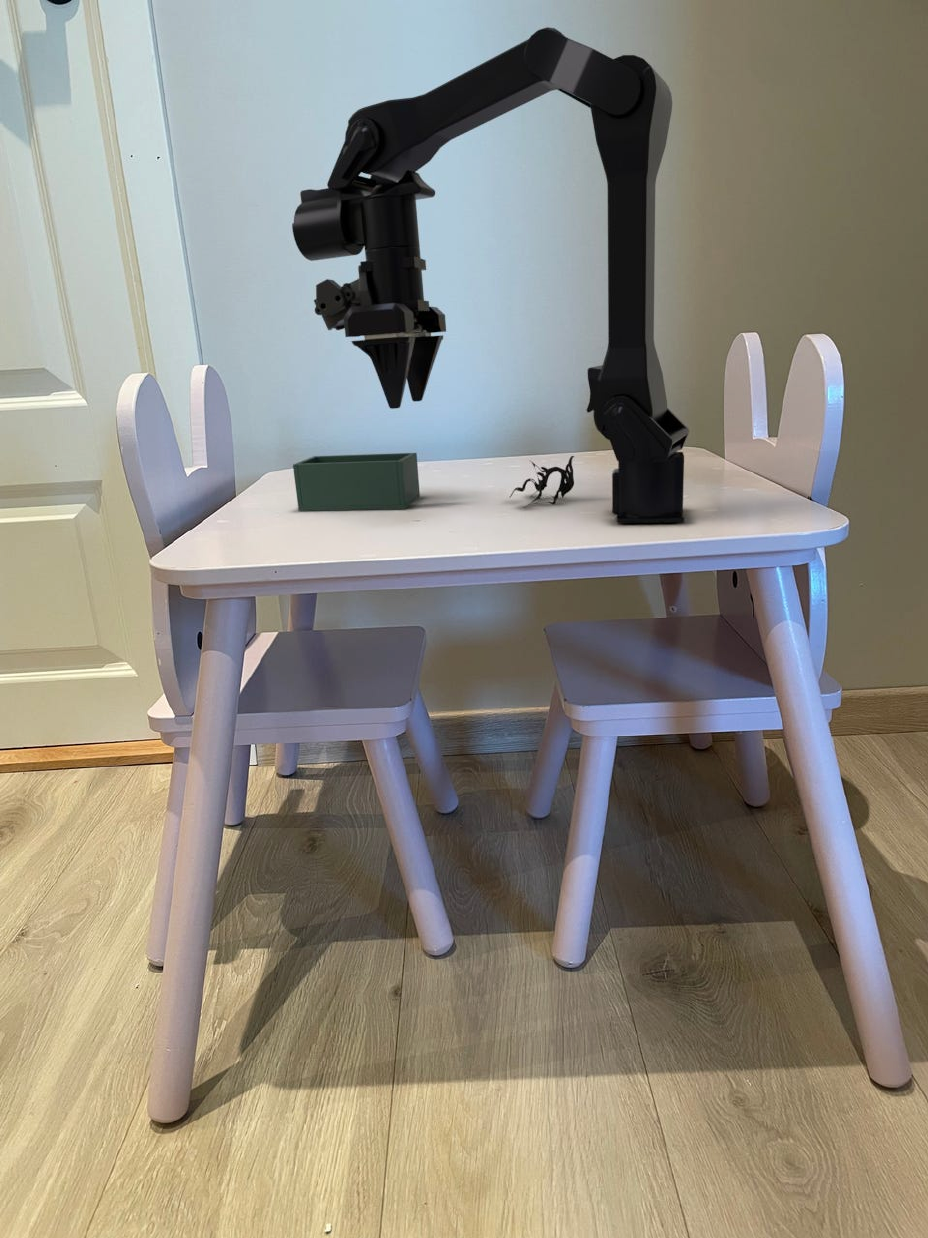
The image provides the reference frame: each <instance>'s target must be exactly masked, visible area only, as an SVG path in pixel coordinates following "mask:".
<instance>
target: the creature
mask: <svg viewBox="0 0 928 1238" xmlns="http://www.w3.org/2000/svg"><path fill="white" fill-rule="evenodd" d="M573 458H575V456H574V455H571V456H570V458H569V459H568V461H567V462H568V463H567V464H566V465H565V468H562V467H559V466H552V467H550V468H547V467H545V466H541V467H539V466H538V465H536V464H535V462H533V461H530V463H531V464H532V466H533V468H534V471H535V474H536V475H537V481H538V483H537V481H536V480H535V479H534V478H527V479H525V481H524V482H523V484H522V487H519V486H518V487H515V488H514V489H513V491H512V492H511V494H510V496H509V499H511V497H512V496H513V494H514V493H515V491H518V492H521V493H522V492H524V491H525V490H526V486H527V484H528V482H532V483H533V485H534V487H535V490H536V491H535V492H534V493H533V494H531V495H530V496H529V497H530V498H532V497H533V495H535V494H536V493H538V494H537V496H536V497H535V498H534V499H533V500H532V501H531V502H530V503H528V504H527V505H524V506H523V509H524V508H526V507H529V506H532V505H536V504H538V505H539V504H543V503H542V502H541V503H540V502H539V503H538V502H536V501H537V500H541V499H542V495H543V491H544V490H545V489H546V488H547V487H548V481H549V477H550V476H551V475H552V474H553V473H555V472H557V473H560V482H559V486H558V489H557V490H556V491H555V494H554V496H553V495H551V498H553V501H552V502H551V501H548V503H549V504H551V505H555V504H556V503H557V499H559V494H560V496H561V498H562V499H564V497H565V495H567V494H568V493H570V491H571V490H572V489H573V488H574V486H575V480H574V479H575V478H574V468H573ZM536 467H537V468H538V470H540V471H537V470H536ZM539 476H540V477H541V479H540V478H539ZM547 497H549V495H548V496H546V498H547ZM546 503H547V501H545V502H544V504H546Z"/></svg>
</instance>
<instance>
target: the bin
mask: <svg viewBox="0 0 928 1238" xmlns="http://www.w3.org/2000/svg"><path fill="white" fill-rule="evenodd" d="M292 470H293V477H294V485H295V486H294V487H295V492H296V494H295V495H296V500H297V502H296V503H297V510H298V512H318V511H319V512H322V511H325V512H327V511H372V510H373V511H375V510H376V511H379V510H406V509H408V508H409V507H411V506H412V505H413V504H414V503H415V502H417V501H419V499H420V498H421V492H420V491H421V490H420V481H419V480H420V479H419V467H418V454H417V452H402V453H401V452H397V453H396V452H395V453H371V454H369V453H368V454H367V453H366V454H340V455H339V454H338V455H336V454H335V455H334V454H333V455H314V456H313V455H312V456H311V457H308V458H306V459H303V460H301V461H299V462H298V461H297V462H296V463H293V464H292Z"/></svg>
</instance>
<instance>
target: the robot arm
mask: <svg viewBox="0 0 928 1238" xmlns="http://www.w3.org/2000/svg"><path fill="white" fill-rule="evenodd" d="M553 91H559V92H561V93H562V94H564V95H566V96H568V97H570V98H571V99H573V100H575V101H576V102H579V103H580V104H581V105H584V106H586V107H587V108H588V109H590V112H591V119H592V125H593V130H594V137H595V142H596V146H597V150H598V154H599V157H600V159H601V164H602V167H603V170H604V174H605V179H606V184H607V321H608V322H607V324H608V325H607V326H608V327H607V330H608V332H607V333H608V337H607V339H608V340H607V341H608V343H607V349H606V352H605V356H604V359H603V363H602V364H601V365H596V366H591V367H588V368H587V382H588V387H589V402H588V405H587V408H586V412H587V413H591V412H593V416H592V417H593V422H594V426H595V428H596V430H597V432H599V433H600V434H601V435H602V436H603V437H604V438H605V439H606V440H608V441H609V442H610V445H611V448H612V451H613V453H614V456H615V459H616V461H617V463H618V464H617V465H618V466H617V468H614V469H613V470H612V473H611V497H612V498H611V505H612V506H611V512H612V514H613V515H616V523H618V524H648V523H649V524H651V523H657V524H658V523H684V522H685V520H686V517H685V511H684V484H685V482H684V481H685V454H684V452H683V451H681V450H683V448H684V446H685V443H686V441H687V438H688V436H689V433H690V429H689V427H687V425H686V424H685V423H684V422H683V421H682V420H681V419H680V418H679V417H677V416H676V414H675V413H674V412H673V411H671V409H670V408H668V400H667V393H666V392H667V391H666V385H665V381H664V373H663V370H662V366H661V362H660V359H659V356H658V352H657V349H656V345H655V263H656V261H655V259H656V258H655V257H656V256H655V255H656V254H655V253H656V250H655V249H656V184H657V178H658V174H659V170H660V167H661V163H662V160H663V157H664V154H665V151H666V146H667V142H668V141H667V140H668V136H669V129H670V122H671V117H672V110H673V98H672V97H673V96H672V92H671V88H670V87H669V85H668V84H667V82H666V81H665V80H664V78H662V77H661V75H659V73H658V72H657V71H656V69H654V68H653V67H652V66H651V64H650V63H649V62H647V61H646V59H644V58H643V57H640V56H638V55H635V54H622V55H620V56H617V57H615V58H612V57H610V56H608V55H606V54H604V53H602V52H601V51H598V50H596V49H594V48H593V47H590V46H588V45H586V44H583V43H581V42H578V41H575V40H573V39H571V38H569V37H567V36H565V34H563V32H561V31H560V30H558V29H556V28H555V27H548V26H547V27H543V28H539V29H537V30H536V31H535V32H534V33H533V34H531V35H530V37H529V38H527V39H525V40H524V41H522V42H520V43H518V44H516V45H514V46H513V47H511V48H509V49H507V50H505V51H503V52H501V53H499V54H498V55H496V56H494V57H491V58H490V59H488V60H486V61H484V62H482V63H480V64H478V65H477V66H475V67H473V68H470V69H468V70H467V71H466V72H464V73H462V74H460V75H458V76H456V77H454V78H452V79H450V80H449V81H446V82H445V83H442V84H441V85H439V86H437V87H435V88H433V89H432V90H429V91H427V92H426V93H423V94H420V95H417V96H414V97H404V98H398V99H388V100H385V101H381V102H378V103H375V104H371V105H367V106H363V107H362V108H359V109H357V110H356V111H355V112H354V113H352V115H351V116H350V117H349V118H348V121H347V127H346V130H345V135H344V142H343V144H342V147H341V149H340V151H339V154H338V157H337V159H336V160H335V164H334V166H333V169H332V171H331V173H330V176H329V178H328V180H327V184H326V186H327V188H321V189H312V188H311V189H303V190H301V191H300V194H299V195H300V204H299V205H298V206H296V207H297V208H296V209H295V211H294V216H293V222H292V224H291V228H292V229H291V230H292V235H293V239H294V242H295V245H296V247H297V249H298V251H299V253H300V254H301V255H302V257H304V258H305V259H306V260H308V261H311V262H314V261H315V262H316V261H321V260H328V259H338V258H344V257H351V256H357V255H360V253H362V251H363V250H364V253H365V254H364V255H365V261H360V263H359V265H358V267H357V270H358V278H357V279H354V280H353V281H350V282H349V283H348V282H345V283H343V285H342V286H341V285H340V284H339V283H337V282H336V281H335V280H334V279H328V278H327V279H325V280H323V281H321V282H319V283H317V284H316V285H315V293H316V294H315V299H314V300H313V302H314V305H315V307H314V313H315V314H316V315H317V316H321V318H322V321H323V322H324V325H325V327H326V328H327V330H328V331H332V330H333V329H335V331H341V330H344V335H345V338H356V337H364V339H361V340H360V339H359V340H351V341H350V342H351V345H353V346H354V347H357V348H358V349H359V350H361V351H362V352H364V353H365V355H367V356H369V358H370V360H371V362H372V365H373V367H374V371H375V373H376V375H377V377H378V378H377V379H378V380H379V383H380V386H381V388H382V391H383V394H384V397H385V400H386V402H387V405H388V408H389V409H391V410H395V409H400V408H401V406H402V402H403V398H404V393H405V389H406V384H407V385H408V389H409V393H410V394H409V395H410V398H411V400H412V402H422V401H423V399H424V396H425V392H426V390H427V386H428V384H429V379H430V377H431V373H432V370H433V367H434V364H435V361H436V358H437V355H438V352H439V349H440V346H441V344H442V341H443V340H444V335H442V334H441V335H432V334H434V333H447V323H446V314H445V313H443V311H442V310H440V308H438V307H437V306H430V301H429V300H425V296H424V295H425V294H424V284H423V283H424V281H423V271H427V261H426V259H424V258H422V257H421V248H420V247H421V246H420V235H419V234H420V233H419V223H418V210H417V201H419V200H425V199H431V198H434V197H435V196H436V190H435V189H434V188H433V187H432V186H430V185H429V184H428V183H426V181H424V179H422V177H421V175H420V173H418V171H419V170H421V169H422V168H423V167H424V166H426V165H427V164H428V163H429V162H431V161H432V159H433V158H434V157H435V156H436V155H437V153H438V152H439V151H440V149H441V148H442V147H443V146H445V145H446V144H448V143H449V142H450V141H452V140H454V139H456V138H457V137H460V136H462V135H465V134H466V133H469V132H470V131H472V130H474V129H476V128H478V127H481V126H482V125H485V124H487V123H488V122H491V121H493V120H494V119H497V118H499V117H501V116H503V115H505V114H507V113H509V112H511V111H513V110H515V109H518V108H519V107H522V106H523V105H525V104H527V103H530V102H531V101H533V100H537V98H539V97H542V96H544V95H545V94H548V93H549V92H553ZM361 174H366V175H368V176H370V177H366V176H361Z"/></svg>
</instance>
